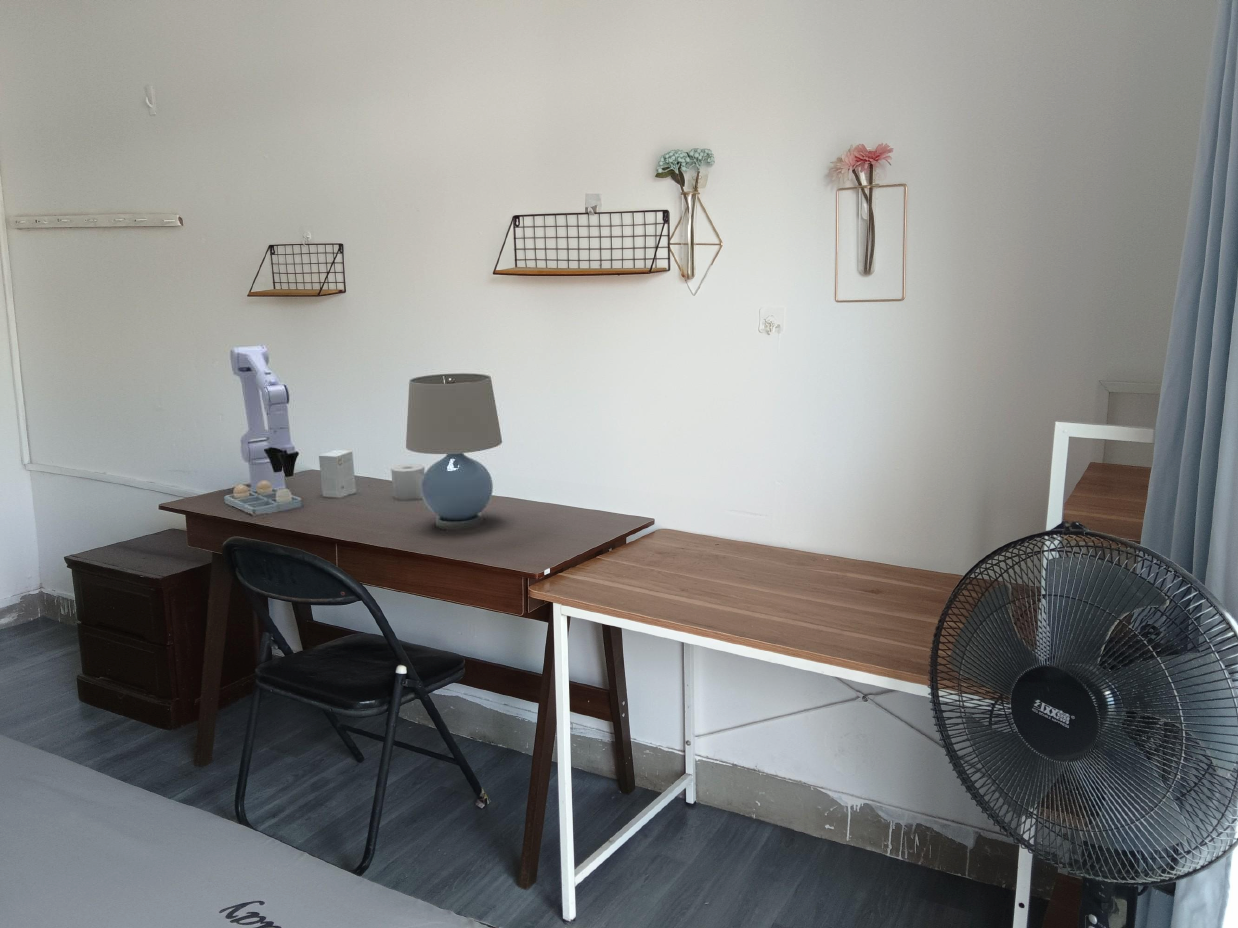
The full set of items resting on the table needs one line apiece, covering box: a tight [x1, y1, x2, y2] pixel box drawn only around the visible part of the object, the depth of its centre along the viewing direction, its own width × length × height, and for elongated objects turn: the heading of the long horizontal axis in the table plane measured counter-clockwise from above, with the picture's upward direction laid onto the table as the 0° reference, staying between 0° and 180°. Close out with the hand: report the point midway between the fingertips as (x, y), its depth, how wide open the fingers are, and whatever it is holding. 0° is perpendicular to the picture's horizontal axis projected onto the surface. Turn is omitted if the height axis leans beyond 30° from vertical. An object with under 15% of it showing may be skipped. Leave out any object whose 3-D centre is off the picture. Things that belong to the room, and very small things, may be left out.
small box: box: [318, 449, 357, 499], centre depth 278 cm, size 8×6×13 cm
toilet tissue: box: [390, 463, 426, 501], centre depth 277 cm, size 9×13×9 cm
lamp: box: [405, 372, 503, 531], centre depth 243 cm, size 25×25×39 cm
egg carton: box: [223, 487, 305, 514], centre depth 269 cm, size 14×21×2 cm
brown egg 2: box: [257, 480, 272, 495], centre depth 276 cm, size 4×4×5 cm
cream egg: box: [276, 487, 292, 504], centre depth 266 cm, size 4×4×5 cm
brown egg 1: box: [232, 484, 250, 500], centre depth 271 cm, size 4×4×5 cm
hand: (283, 474), depth 267 cm, fingers open, 7 cm apart
